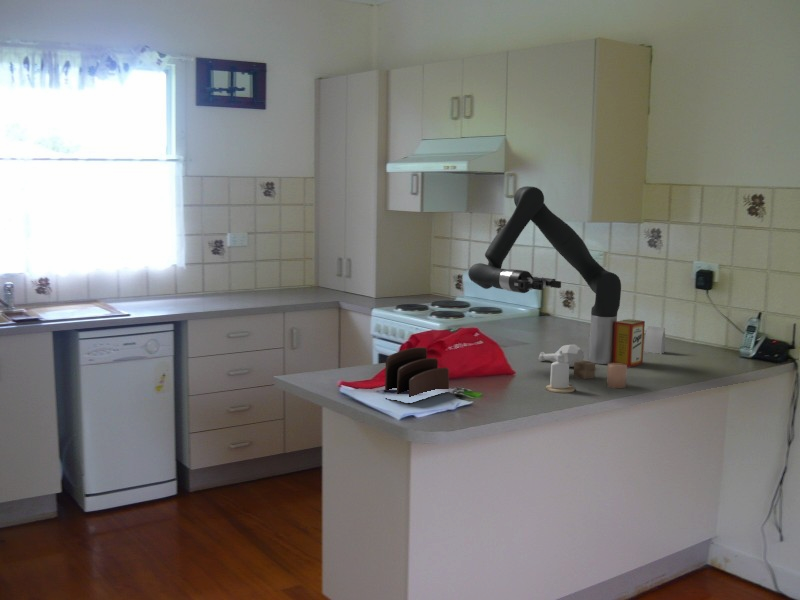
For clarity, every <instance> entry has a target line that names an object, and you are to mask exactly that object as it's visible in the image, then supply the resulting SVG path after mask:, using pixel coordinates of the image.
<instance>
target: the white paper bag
mask: <svg viewBox="0 0 800 600" xmlns="http://www.w3.org/2000/svg"><path fill="white" fill-rule="evenodd" d="M644 351H645V352H644ZM643 352H644V353H648V352H652V353H651V354H655V353H660V354H659V355H662V354H661V353H663V354H665V353H664V352H666V331H665V327H660V326H651V325H650V326H648V325H647V326H646V331H645V333H644V344H643Z"/></svg>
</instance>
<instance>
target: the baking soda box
mask: <svg viewBox="0 0 800 600" xmlns="http://www.w3.org/2000/svg"><path fill="white" fill-rule="evenodd" d="M644 344H645V321H644V320H640V319H639V320H638V319H632V318H631V319H630V318H626V319H621V320H617V322H615V336H614V356H613V363H622V364H626V365H627V368H631V367H635V366H638V365H642V364H643V362H644V361H643V358H644V357H643V356H644Z"/></svg>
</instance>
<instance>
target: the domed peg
mask: <svg viewBox="0 0 800 600" xmlns="http://www.w3.org/2000/svg"><path fill="white" fill-rule="evenodd" d="M627 370H628V367H627V365H626V364H622V363H609V364H607V373H606V374H607V375H606V377H607V379H606V386H607V387H608V388H612V389H625V388H627V376H628V375H627V372H628V371H627Z"/></svg>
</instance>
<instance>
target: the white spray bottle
mask: <svg viewBox="0 0 800 600" xmlns="http://www.w3.org/2000/svg"><path fill="white" fill-rule="evenodd" d="M560 350H562V354H564V362H566V363H568V364H569V368H571V367H572V368H574V362H578V361H583V360H584V357H585V354H584V351H583V350H582V348H581V347H579V346H578V345H577V344H565V345H562V346H561V347H560V348H559V349H558V350H557V351H555V353H545V352H544V351H542V352H539V356H538V361H540V362H545V361H547V360H549V361H550V360H551V361H552V360H556V359H557V354H559V351H560Z"/></svg>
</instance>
